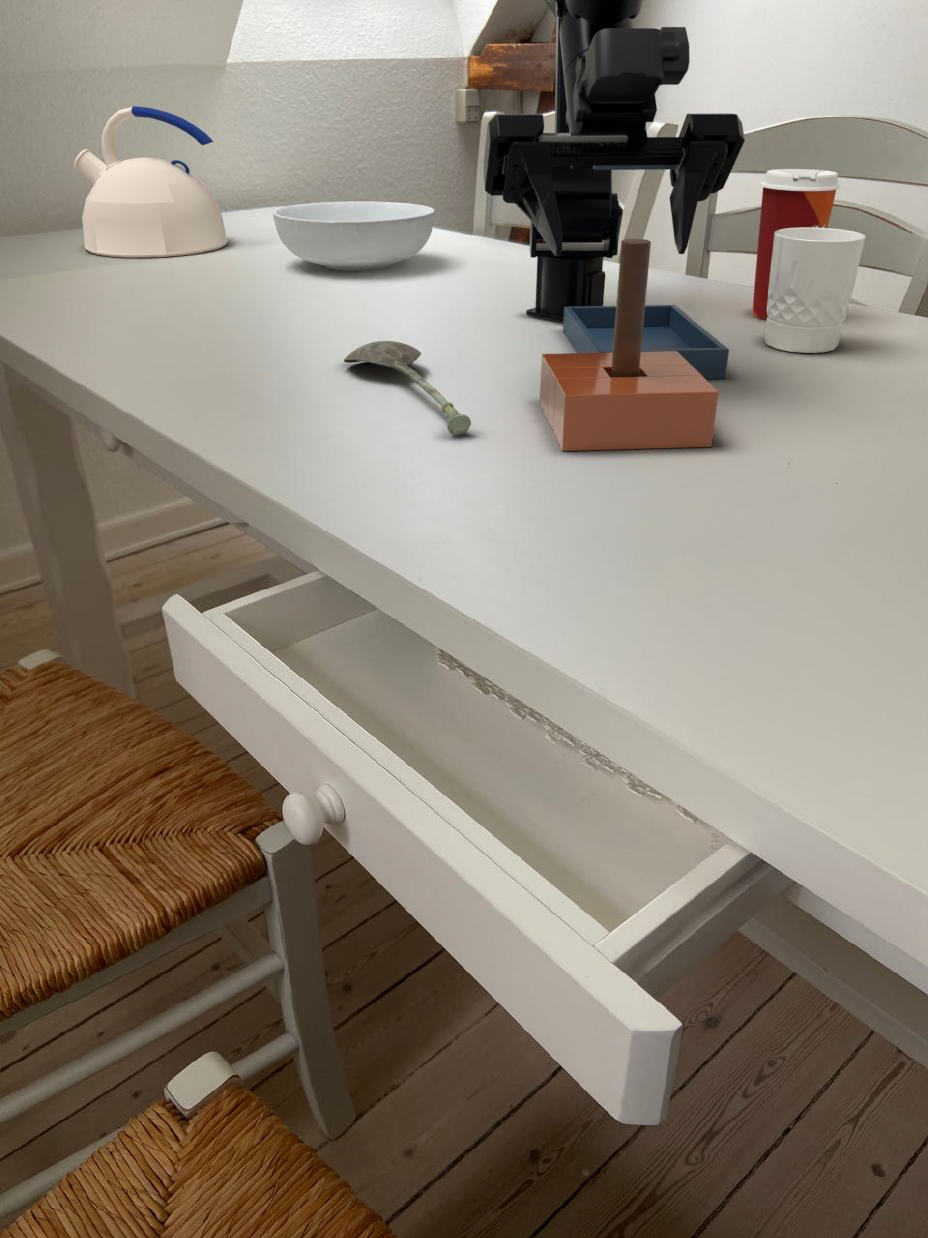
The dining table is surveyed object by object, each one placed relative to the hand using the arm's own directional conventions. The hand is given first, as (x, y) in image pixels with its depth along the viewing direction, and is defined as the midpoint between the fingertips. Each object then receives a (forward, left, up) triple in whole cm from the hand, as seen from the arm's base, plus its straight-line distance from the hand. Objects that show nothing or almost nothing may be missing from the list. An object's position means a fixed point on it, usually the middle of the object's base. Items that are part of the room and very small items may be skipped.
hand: (621, 251), depth 70 cm
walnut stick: (+3, -3, -12) cm, 12 cm away
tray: (-7, +15, -12) cm, 20 cm away
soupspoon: (-14, -8, -12) cm, 20 cm away
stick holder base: (+3, -3, -12) cm, 12 cm away
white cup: (+3, +28, -12) cm, 31 cm away
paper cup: (-4, +38, -12) cm, 40 cm away
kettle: (-92, +19, -12) cm, 95 cm away
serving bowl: (-59, +28, -12) cm, 66 cm away
